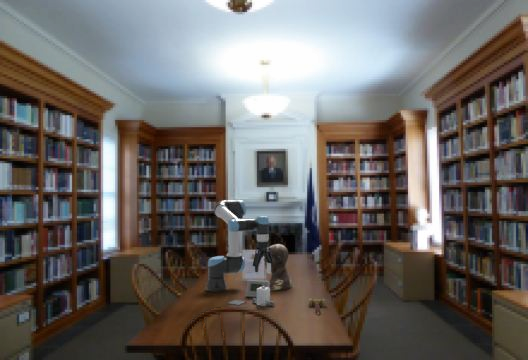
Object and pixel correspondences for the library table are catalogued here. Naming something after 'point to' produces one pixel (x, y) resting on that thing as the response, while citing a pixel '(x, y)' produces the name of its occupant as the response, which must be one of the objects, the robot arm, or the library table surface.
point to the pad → (236, 302)
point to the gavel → (317, 304)
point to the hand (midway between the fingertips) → (263, 275)
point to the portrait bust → (279, 268)
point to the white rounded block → (263, 296)
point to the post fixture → (268, 302)
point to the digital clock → (255, 287)
